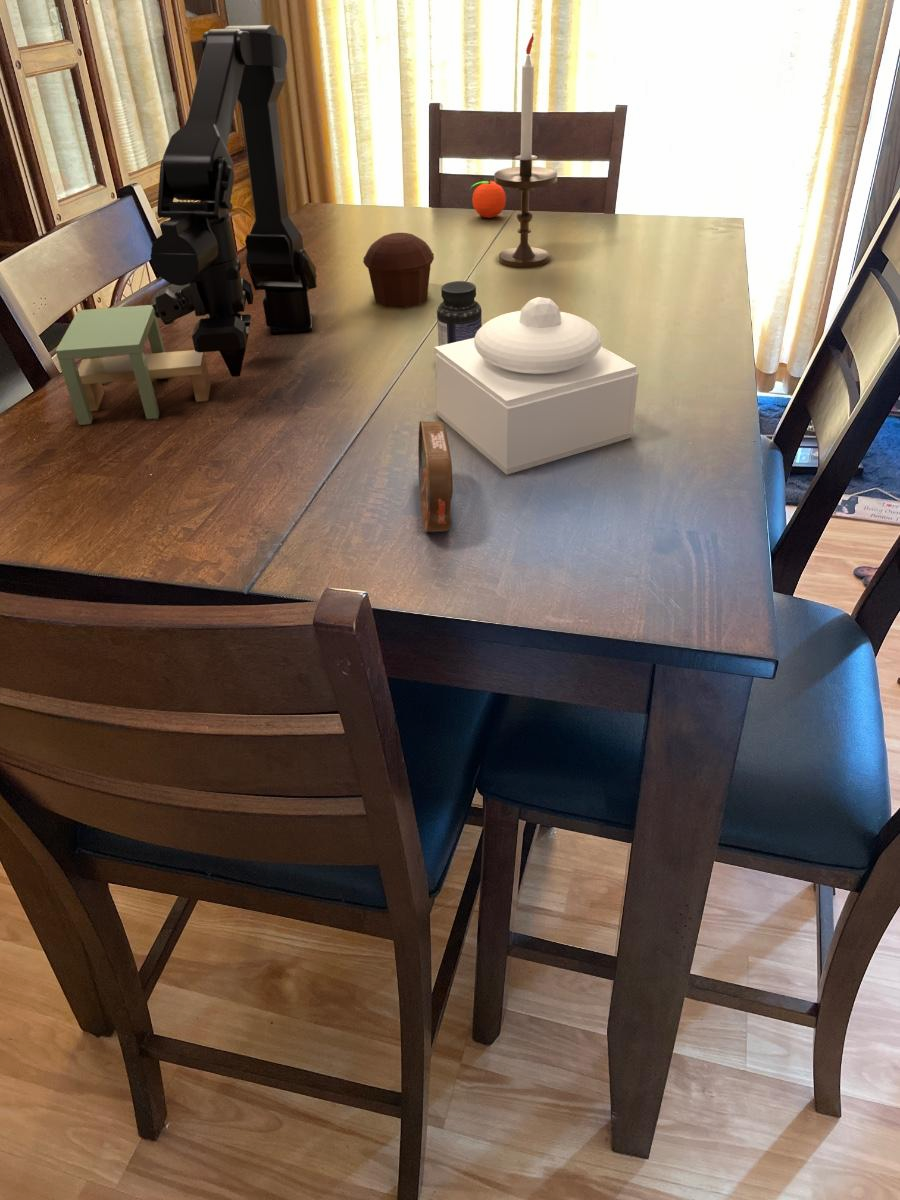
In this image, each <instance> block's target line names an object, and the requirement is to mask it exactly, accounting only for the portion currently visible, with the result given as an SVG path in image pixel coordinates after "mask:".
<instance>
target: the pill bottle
mask: <svg viewBox="0 0 900 1200" xmlns="http://www.w3.org/2000/svg"><path fill="white" fill-rule="evenodd" d="M440 288H441V289H440V296H441V299H442V300H443V301H442V302H441V303H440V304H439V305H438V307H437V308H436V309H437V310H436V320H437V336H438V338H437V342H438V346H441V345H446V344H450V343H454V342H458V341H463V340H467V339H471V338H475V335H476V333H477V331H478V330H479V329H480V328H481V327H482V326H483V325H482V324H483V322H482V319H483V318H482V312H483V311H482V307H481V304H480V303H479V302H478V301H476V300H475V298H476V297H477V286H476V284H474V283H473V282H471V281H467V280H466V281H465V280H456V281H455V280H454V281H450V282H446V283H444V284H442V286H441V287H440Z"/></svg>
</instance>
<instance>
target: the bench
mask: <svg viewBox="0 0 900 1200" xmlns="http://www.w3.org/2000/svg"><path fill="white" fill-rule="evenodd" d="M205 353H206V352H200V353H199V352H196V351H195V349H191V350H190V349H188V350H178V351H167V352H166V351H165V353H153V354H152V353H144V355H145V359H146V362H147V366H148V370H149V374H150V378H151V379H158V378H162V377H169V378H171V377H185V376H189V377H190V381H191V385H192V390H193V394H194V395H193V396H194V399H195V402H196V403H199V402H200V403H201V402H208V401H209V399H210V398H209V397H210V392H211V386H212V382H211V377H210V373H209V367H208V363H207V359H206V354H205ZM77 369H78V372H79V375H80V378H81V382H82V385H83V388H84V391H85V395H86V398H87V401H88V404H89V407H90V411H91V412H98V411H99V408H100V406H101V403H102V400H103V399H104V395H105V390H104V386H103V384H102V383H105V382H108V383H114V382H126V381H136V378H135V374H134V371H133V367H132V363H131V359H130V356H129V355H116V356H104V357H103V358H93V359H89V358H82V359H81V362H80V364H79V366H78V367H77Z"/></svg>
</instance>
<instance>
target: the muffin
mask: <svg viewBox="0 0 900 1200" xmlns="http://www.w3.org/2000/svg"><path fill="white" fill-rule="evenodd" d="M434 259H435V255H434V253H433V251H432V249H431V247H430V246H429V244H428V243H427V242H426V241H424V240H423V239H421V238H420V237H419V236H417V235H415V234H412V233H409V232H392V233H388V234H385V235H383V236H381V237H379V238H378V239H377V240H375V241H374V242H373V243H371V245H370V246H369V247H368V249H367V251H366V253H365V255H364V257H363V261H362V263H363V265H364V266H365V267H366V268H367V269H368V275H369V279H370V284H371V288H372V292H373V296H374V301H375V304H378V305H381V306H383V307H385V308H397V309H405V308H409V307H415V306H419V305H421V304H422V303H424V302H426V301H427V300H428V293H429V284H430V274H431V267H432V266H431V265H432V263H433V261H434Z"/></svg>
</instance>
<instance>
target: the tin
mask: <svg viewBox="0 0 900 1200" xmlns="http://www.w3.org/2000/svg"><path fill="white" fill-rule="evenodd" d="M418 425H419V426H418V486H419V497H420V505H421V514H422V523H423V524H422V525H423V530H424V532H425V531H426V532H425V533H429V532H447V531H449V530H450V529H451V528H452V518H451V510H452V509H451V508H452V507H451V505H452V499H453V491H454V483H453V482H454V481H453V463H452V456H451V450H450V446H449V445H450V444H449V439H448V434H447V429H446V426H445V422H443V421H424V420H420V421H419V424H418ZM446 530H447V531H446ZM428 531H429V532H428Z"/></svg>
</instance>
